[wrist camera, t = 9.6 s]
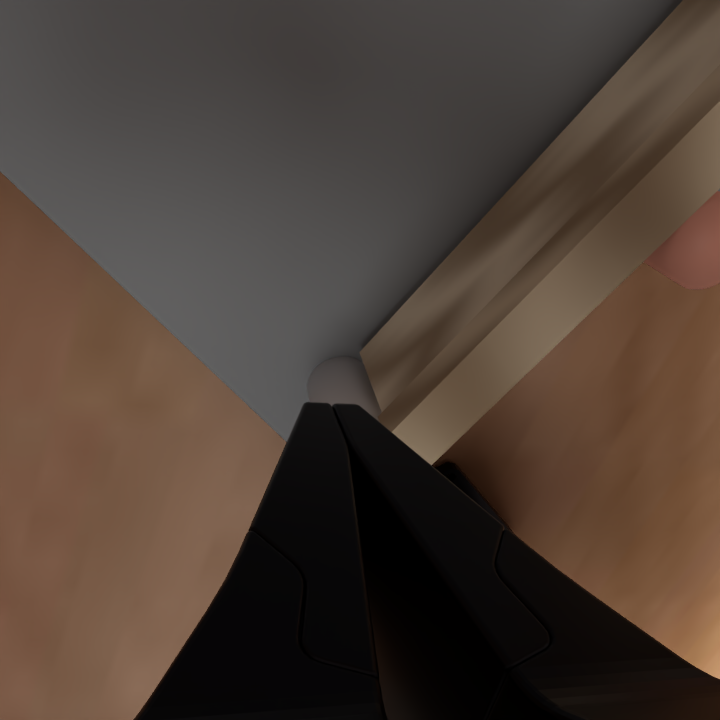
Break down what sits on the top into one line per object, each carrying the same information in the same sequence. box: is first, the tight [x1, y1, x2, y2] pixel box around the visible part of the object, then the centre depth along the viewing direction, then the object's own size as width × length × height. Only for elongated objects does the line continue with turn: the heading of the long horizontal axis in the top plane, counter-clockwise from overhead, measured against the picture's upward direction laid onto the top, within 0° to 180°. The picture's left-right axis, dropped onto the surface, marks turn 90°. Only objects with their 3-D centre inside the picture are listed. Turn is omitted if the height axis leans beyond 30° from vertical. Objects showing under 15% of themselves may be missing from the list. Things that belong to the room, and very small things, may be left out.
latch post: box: [644, 191, 720, 290], centre depth 18 cm, size 2×2×6 cm
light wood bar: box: [359, 0, 720, 465], centre depth 17 cm, size 16×2×5 cm, turn 138°
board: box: [0, 0, 720, 442], centre depth 14 cm, size 24×22×6 cm
